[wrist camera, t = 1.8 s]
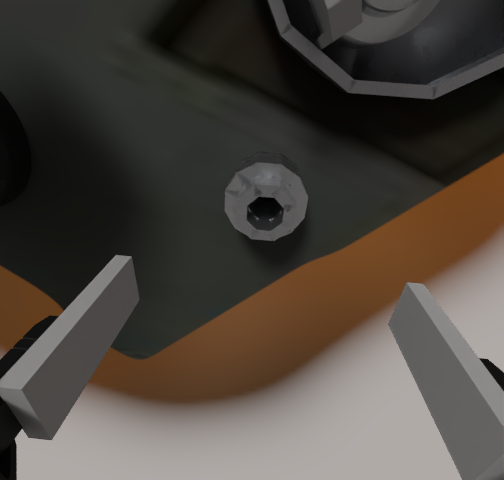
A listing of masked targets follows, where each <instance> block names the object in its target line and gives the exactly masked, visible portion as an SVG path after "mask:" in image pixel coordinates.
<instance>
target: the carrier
mask: <svg viewBox="0 0 504 480" xmlns="http://www.w3.org/2000/svg"><path fill="white" fill-rule="evenodd" d="M265 2H266V4H267V7H268V9H269V11H270V14H271V16H272V18H273V21H274V24H275V27H276V29H277V32H278V35H279V38H280V39H281V40H282V41H283V42H284V43H285V44H286V45H288V46H289V47H290V48H291V49H292V50H294V52H295V53H296V54H297V55H298V56H299V57H300V58H301V59H302V60H303V61H304V62H305V63H306V64H307V65H308V66H309V67H310V68H312V69H313V70H314V71H316V72H317V73H319V74H320V75H321V76H323V77H324V78H326V79H328V80H329V81H331V82H332V83H333V84H334V85H335V86H336V87H338V88H339V89H340V90H341V91H342V92H345V93H357V94H370V95H383V96H397V97H410V98H423V99H435V98H437V97H439V96H442V95H444V94H446V93H448V92H450V91H452V90H455V89H457V88H459V87H461V86H463V85H466V84H468V83H470V82H472V81H474V80H476V79H479V78H481V77H483V76H485V75H487V74H489V73H492V72H494V71H496V70H498V69H500V68H502V67H504V0H362V23H361V24H359V25H358V26H356V27H355V28H353V29H352V30H350V31H349V32H347V33H346V34H344V35H343V36H341V37H340V38H338V39H337V40H335V41H334V42H332V43H331V44H329V45H328V46H326V47H325V48H323V49H321V50H319V49H318V48H317V46H316V44H315V41H316V40H317V39H318V38H319V37H320V36H321V34H320V31H319V28H318V26H317V23H316V20H315V18H314V15H313V12H312V10H311V7H310V4H309V1H308V0H265Z"/></svg>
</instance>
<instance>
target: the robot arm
mask: <svg viewBox="0 0 504 480" xmlns="http://www.w3.org/2000/svg"><path fill="white" fill-rule="evenodd" d="M29 172H30V156H29V150H28V145H27V142H26V138H25V135H24V133H23V130H22V128H21V125H20V123H19V121H18V119H17V117H16V116H15V114H14V112H13V110H12V109H11V107H10V106H9V104H8V102H7V101H6V100H5V98H4V97H3V95H2V94H1V93H0V206H1V205H4V204H6V203H8V202H10V201H12V200H13V199H15V198H16V197H17V196H18V195H19V194H20V193H21V192H22V191H23V189H24V187H25V186H26V183H27V181H28V177H29ZM139 300H140V299H139V294H138V288H137V283H136V277H135V272H134V267H133V261H132V256H121V255H116V256H115V257H114V258H113V259H112V260H111V261H110V262H109V263H108V264H107V265H106V266H105V267H104V269H103V270H102V271H101V272H100V273H99V274H98V275H97V276H96V277H95V278H94V279H93V280H92V281H91V283H90V284H89V285H88V286H87V287H86V288H85V289H84V290H83V291H82V292H81V293H80V294H79V295H78V297H77V298H76V299H75V300H74V301H73V302H72V303H71V304H70V305H69V306H68V307H67V308H66V309H65V311H64V312H63V313H62V314H61V315H60V316H48V317H47V318H45V319H44V320H42V321H41V322H39V323H37V324H36V325H34V327H32V328H31V329H30V330H29V331H28V332H27V333H26V334H25V335H24V337H23V339H21V340H19V342H17V343H16V344H15V345H14V347H13V349H10V351H8V353H7V354H6V355H5V356H4V357H3V358H2V359H1V360H0V480H16V442H15V437H16V436H17V434H18V433H19V432H20V430H21V429H23V430H24V432H25V433H26V434H27V436H28V437H29V438H37V439H45V440H52V439H53V437H54V436H55V434H56V432H57V431H58V429H59V428H60V426H61V424H62V423H63V421H64V420H65V418H66V416H67V415H68V413H69V412H70V410H71V408H72V407H73V405H74V404H75V402H76V400H77V399H78V397H79V396H80V394H81V393H82V391H83V389H84V388H85V386H86V385H87V383H88V381H89V380H90V378H91V377H92V375H93V373H94V372H95V370H96V369H97V367H98V365H99V364H100V362H101V360H102V359H103V357H104V356H105V354H106V353H107V351H108V349H109V348H110V346H111V345H112V343H113V341H114V340H115V338H116V337H117V335H118V333H119V332H120V330H121V329H122V327H123V325H124V324H125V322H126V321H127V319H128V317H129V316H130V314H131V313H132V311H133V309H134V308H135V306H136V305H137V303H138V301H139ZM388 325H389V327H390V329H391V331H392V333H393V335H394V337H395V339H396V342H397V344H398V346H399V348H400V350H401V352H402V354H403V356H404V358H405V360H406V362H407V364H408V367H409V369H410V371H411V373H412V375H413V377H414V379H415V381H416V383H417V386H418V387H419V390H420V392H421V394H422V396H423V398H424V400H425V402H426V404H427V407H428V409H429V411H430V413H431V415H432V417H433V419H434V421H435V423H436V425H437V428H438V429H439V432H440V434H441V436H442V438H443V440H444V442H445V444H446V446H447V449H448V451H449V452H450V455H451V457H452V459H453V461H454V463H455V465H456V467H457V469H458V472H459V474H460V476H461V478H462V480H504V373H503V372H502V371H501V370H500V369H499V368H498V367H496V366H495V365H494V364H493V363H492V362H490V361H489V360H488V359H480V358H478V357H477V355H476V354H475V353H474V351H473V350H472V348H471V347H470V346H469V345H468V343H467V342H466V340H465V339H464V338H463V337H462V335H461V334H460V332H459V331H458V330H457V329H456V327H455V326H454V324H453V323H452V322H451V320H450V319H449V318H448V316H447V315H446V314H445V312H444V311H443V310H442V308H441V307H440V306H439V305H438V303H437V302H436V300H435V299H434V298H433V296H432V295H431V294H430V293H429V291H428V290H427V288H426V287H425V286H424V284H418V283H408V282H407V283H406V285H405V287H404V290H403V292H402V294H401V297H400V299H399V301H398V303H397V305H396V308H395V310H394V312H393V315H392V317H391V319H390V322H389V324H388Z"/></svg>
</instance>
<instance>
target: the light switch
mask: <svg viewBox="0 0 504 480" xmlns="http://www.w3.org/2000/svg"><path fill="white" fill-rule="evenodd" d="M308 1H309V4H310V7H311V10H312V12H313V15H314V18H315V20H316V23H317V26H318V28H319V31H320V34H321V36H320V37H319V38H318V39H317V40H316V41H315V44H316V46H317V48H318V49H319V50H321V49H323V48H325V47H326V46H328V45H329V44H331V43H332V42H334V41H335V40H337V39H338V38H340V37H341V36H343V35H344V34H346V33H347V32H349V31H350V30H352V29H353V28H355V27H356V26H358V25H359V24H361V23H362V0H308Z"/></svg>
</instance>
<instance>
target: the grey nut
mask: <svg viewBox="0 0 504 480" xmlns="http://www.w3.org/2000/svg"><path fill="white" fill-rule="evenodd" d="M258 197H271V198H275V200H273V201H271V202H261V201H260V200H258V199H257V198H258ZM307 201H308V195H307V191H306V188H305V185H304V182H303V180H302V178H301V175H300V173H299V170H298V168H297V165H296V164H295V163H293V162H292V161H291V160H289V159H288V158H286V157H285V156H284V155H282V154H281V153H276V152H264V151H259V152H257V153H255V154H253V155H251V156H249V157H247V158H245V159H243V160H241V162H240V164H239V165H238V167H237V168H236V170H235V171H234V173H233V174H232V176H231V178H230V180H229V182H228V185H227V187H226V189H225V212H226V214H227V216H228V217H229V219H230V221H231V222H232V224H233V226H234V228H235V229H237V230H239V231H240V232H242V233H244V234H245V235H247V236H248V237H249V238H250V239H256V240H267V241H275V240H276V239H278V238H280V237H282V236H285V235H288V234H290V233H292V232H293V231H294V229H295V228H296V227H297V226H298V225H299V224H300V222H301V221H302V220H303V219H304V218H305V213H306V207H307Z"/></svg>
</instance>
